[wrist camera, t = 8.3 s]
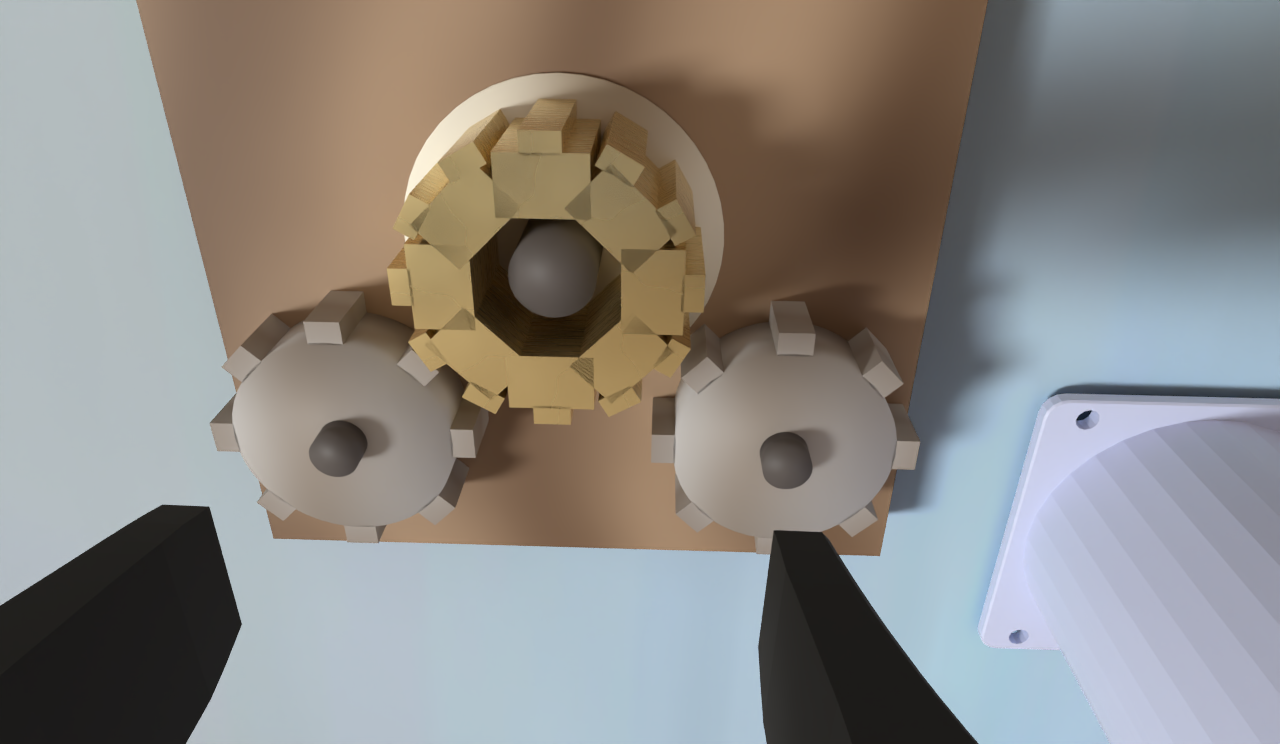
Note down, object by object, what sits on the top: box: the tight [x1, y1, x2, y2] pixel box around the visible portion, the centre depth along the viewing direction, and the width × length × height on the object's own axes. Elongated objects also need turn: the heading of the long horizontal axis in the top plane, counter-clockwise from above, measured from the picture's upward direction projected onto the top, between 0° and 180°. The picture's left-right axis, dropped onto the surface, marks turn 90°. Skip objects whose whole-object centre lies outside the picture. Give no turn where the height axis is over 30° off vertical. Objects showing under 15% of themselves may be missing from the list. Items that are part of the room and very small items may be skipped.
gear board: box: [136, 0, 988, 556], centre depth 17 cm, size 15×13×4 cm
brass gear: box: [387, 99, 706, 425], centre depth 16 cm, size 6×6×2 cm
